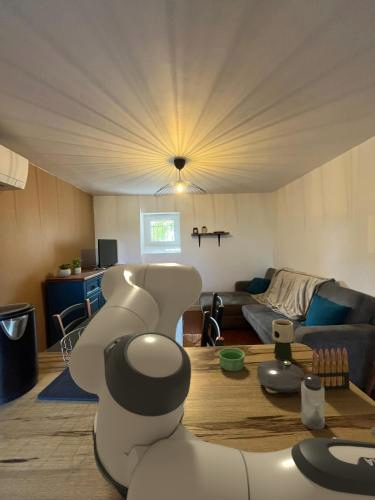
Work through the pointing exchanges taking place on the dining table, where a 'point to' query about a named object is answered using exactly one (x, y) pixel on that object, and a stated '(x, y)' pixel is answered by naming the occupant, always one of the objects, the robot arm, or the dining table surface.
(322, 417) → the clear bottle
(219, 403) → the dining table surface
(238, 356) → the ramekin
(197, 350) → the dining table surface
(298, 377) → the grey lid
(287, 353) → the character mug
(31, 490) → the dining table surface
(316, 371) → the ammunition clip
